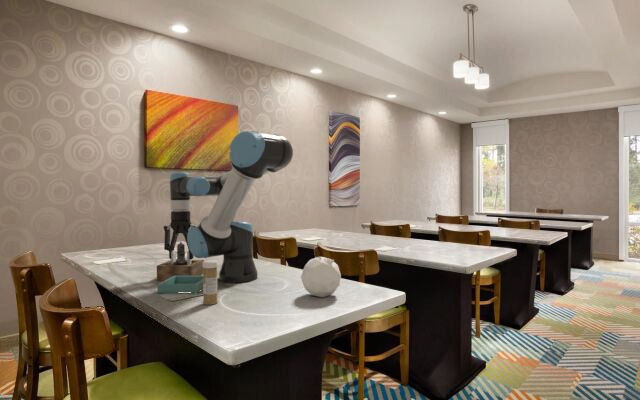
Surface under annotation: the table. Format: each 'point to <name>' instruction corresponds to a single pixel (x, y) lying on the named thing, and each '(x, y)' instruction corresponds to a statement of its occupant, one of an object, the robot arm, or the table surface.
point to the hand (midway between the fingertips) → (181, 267)
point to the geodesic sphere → (321, 276)
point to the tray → (181, 284)
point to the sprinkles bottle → (210, 282)
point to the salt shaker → (180, 255)
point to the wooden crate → (179, 270)
